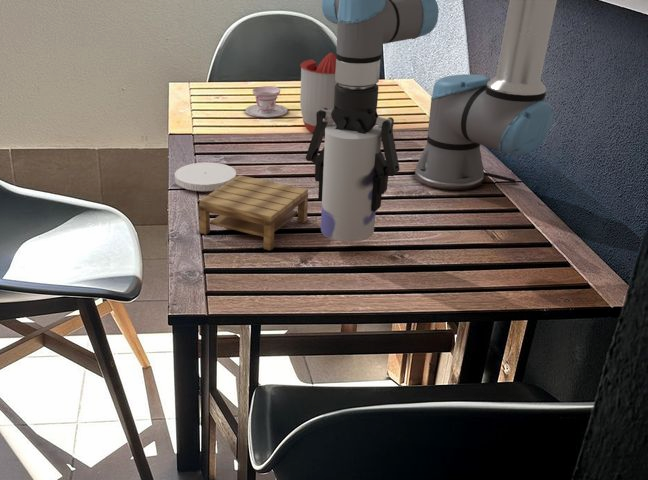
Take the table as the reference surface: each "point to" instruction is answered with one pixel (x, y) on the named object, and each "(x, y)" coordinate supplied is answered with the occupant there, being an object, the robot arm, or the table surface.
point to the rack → (253, 207)
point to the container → (349, 183)
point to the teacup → (266, 103)
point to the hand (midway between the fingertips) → (349, 203)
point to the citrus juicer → (317, 89)
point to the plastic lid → (204, 176)
